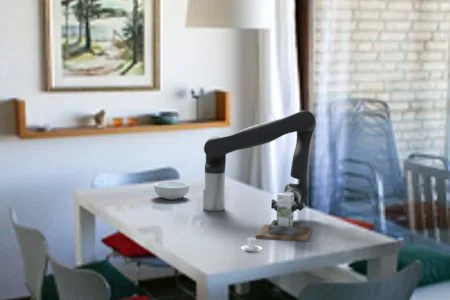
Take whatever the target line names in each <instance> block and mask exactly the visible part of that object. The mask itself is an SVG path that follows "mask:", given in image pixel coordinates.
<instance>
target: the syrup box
mask: <svg viewBox="0 0 450 300" xmlns="http://www.w3.org/2000/svg"><path fill="white" fill-rule="evenodd" d="M276 201H277V211H276V220H277V226H286V227H293V221H294V212H295V211H294V212H292V206H293V205H294V193H292V192H284V191H279V192H278V193H277V195H276Z"/></svg>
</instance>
